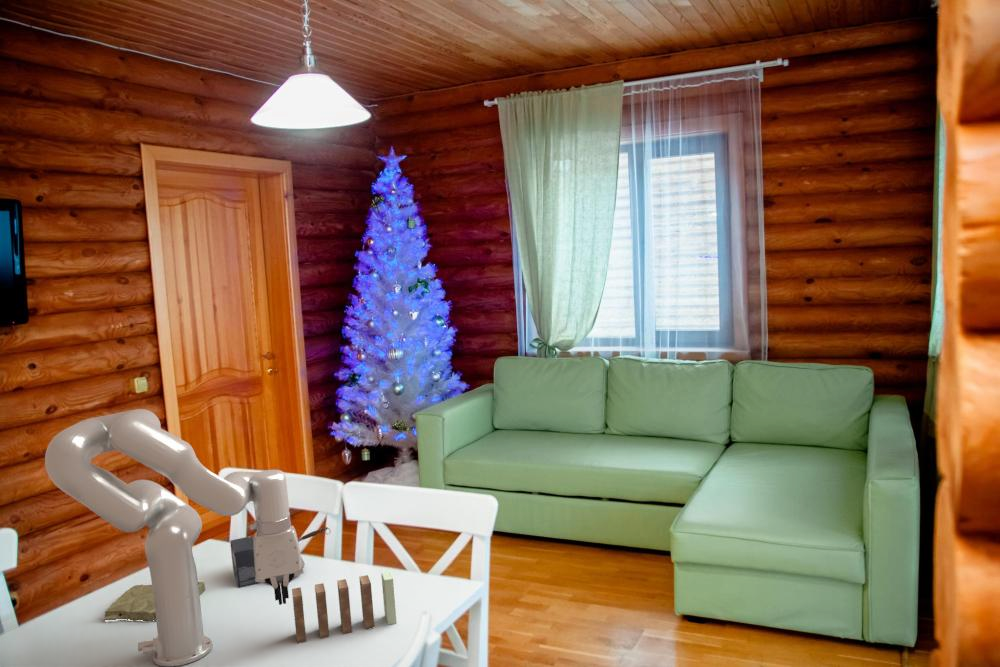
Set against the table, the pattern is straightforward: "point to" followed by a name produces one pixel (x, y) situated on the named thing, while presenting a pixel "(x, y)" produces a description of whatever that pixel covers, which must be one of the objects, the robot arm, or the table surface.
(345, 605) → the domino
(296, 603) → the domino
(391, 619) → the domino
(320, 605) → the domino
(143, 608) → the decorative tile
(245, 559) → the small box
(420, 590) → the table surface
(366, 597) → the domino
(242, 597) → the table surface
